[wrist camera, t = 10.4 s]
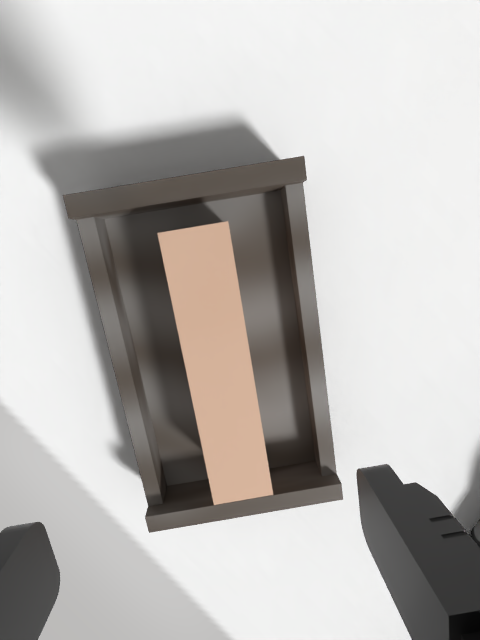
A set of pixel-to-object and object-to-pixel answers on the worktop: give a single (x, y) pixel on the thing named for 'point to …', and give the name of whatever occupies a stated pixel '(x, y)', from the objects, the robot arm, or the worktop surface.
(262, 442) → the tan rectangular block
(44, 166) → the worktop surface
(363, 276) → the worktop surface
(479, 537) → the toy car
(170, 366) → the charcoal tray
